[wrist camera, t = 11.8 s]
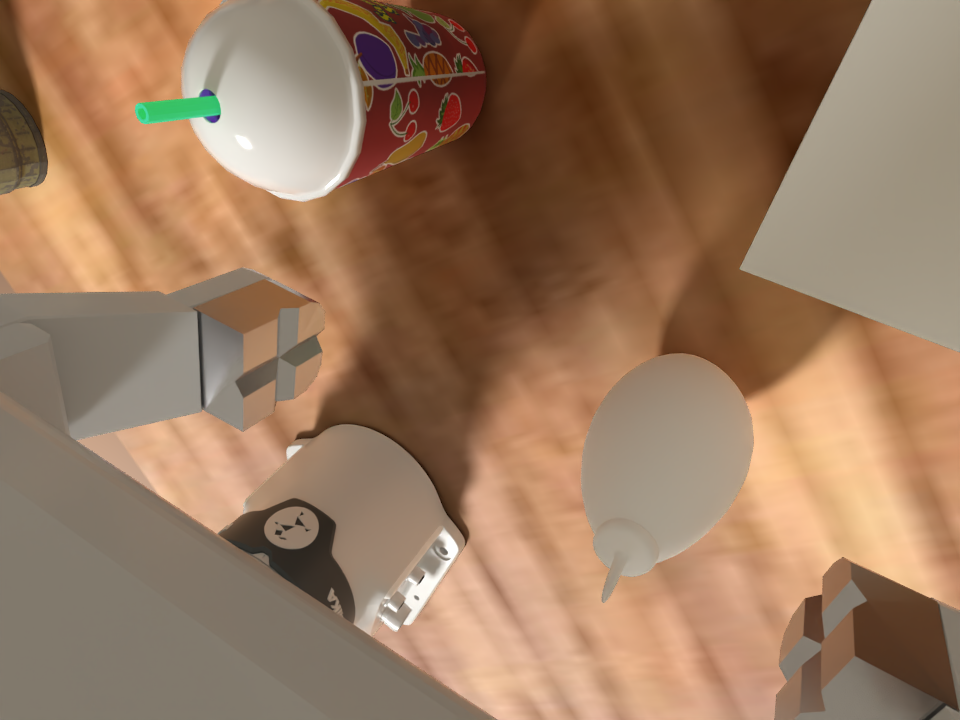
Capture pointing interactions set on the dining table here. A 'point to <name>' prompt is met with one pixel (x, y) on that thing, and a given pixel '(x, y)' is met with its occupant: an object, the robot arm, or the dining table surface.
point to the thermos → (19, 147)
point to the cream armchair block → (879, 179)
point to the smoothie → (323, 90)
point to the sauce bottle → (663, 461)
